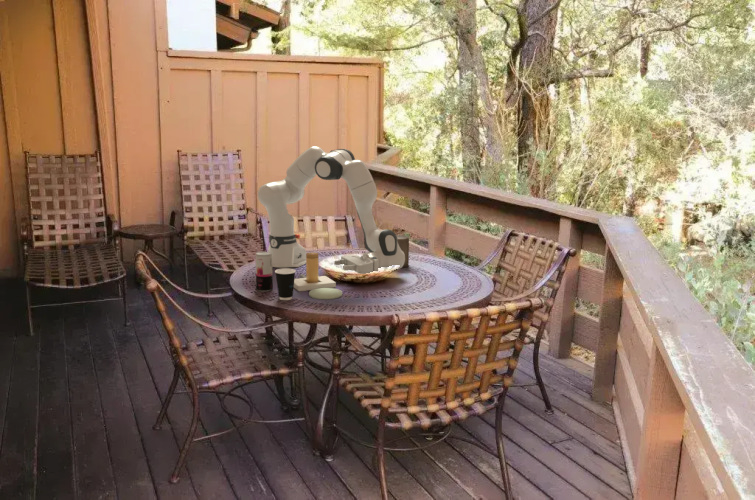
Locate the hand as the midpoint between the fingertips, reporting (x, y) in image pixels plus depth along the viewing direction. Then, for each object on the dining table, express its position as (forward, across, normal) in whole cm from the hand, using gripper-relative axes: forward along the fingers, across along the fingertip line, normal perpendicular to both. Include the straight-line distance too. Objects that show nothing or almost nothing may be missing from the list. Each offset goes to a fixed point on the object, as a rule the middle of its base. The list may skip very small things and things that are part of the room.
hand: (339, 265), depth 280 cm
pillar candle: (-38, -19, +8) cm, 43 cm away
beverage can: (+32, -1, +8) cm, 33 cm away
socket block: (+12, -4, +8) cm, 15 cm away
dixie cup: (+28, +14, +8) cm, 32 cm away
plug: (+12, 0, +8) cm, 14 cm away
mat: (+12, +15, +8) cm, 21 cm away
